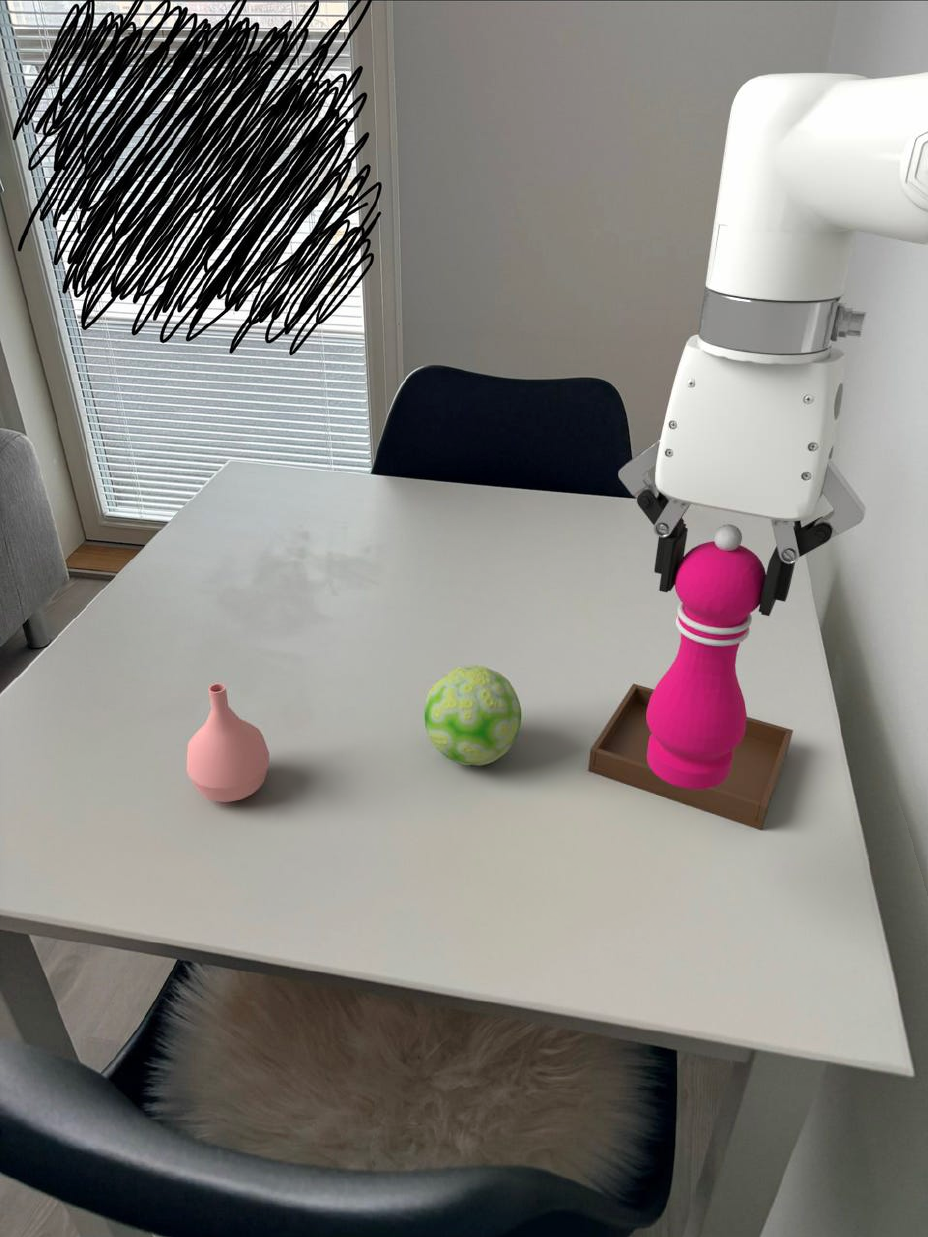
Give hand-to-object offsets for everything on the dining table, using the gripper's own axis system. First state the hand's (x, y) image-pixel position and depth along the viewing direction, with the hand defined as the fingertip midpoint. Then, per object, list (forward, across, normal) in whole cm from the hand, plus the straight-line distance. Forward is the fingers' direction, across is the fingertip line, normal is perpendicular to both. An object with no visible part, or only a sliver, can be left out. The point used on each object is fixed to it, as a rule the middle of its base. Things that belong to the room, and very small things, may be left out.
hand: (718, 592), depth 60 cm
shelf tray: (+29, +3, -18) cm, 35 cm away
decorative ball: (+29, +23, -9) cm, 38 cm away
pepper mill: (+15, 0, 0) cm, 15 cm away
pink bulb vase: (+29, +41, +7) cm, 51 cm away
